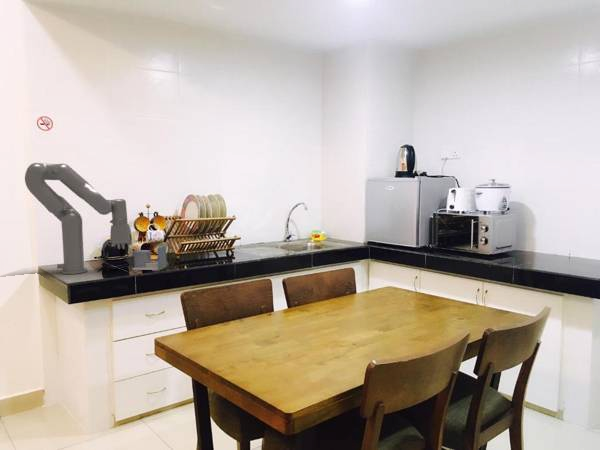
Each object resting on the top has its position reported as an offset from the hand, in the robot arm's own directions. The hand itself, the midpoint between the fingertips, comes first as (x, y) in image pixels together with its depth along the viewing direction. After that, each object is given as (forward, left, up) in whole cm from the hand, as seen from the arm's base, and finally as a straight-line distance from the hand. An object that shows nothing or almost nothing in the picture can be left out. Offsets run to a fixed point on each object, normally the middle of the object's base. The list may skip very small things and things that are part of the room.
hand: (122, 256), depth 267 cm
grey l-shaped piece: (+15, 0, -7) cm, 16 cm away
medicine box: (+11, -1, -6) cm, 12 cm away
